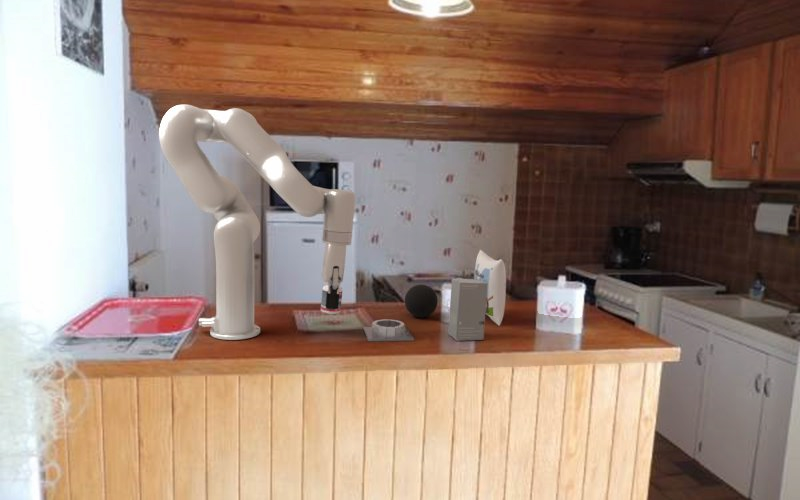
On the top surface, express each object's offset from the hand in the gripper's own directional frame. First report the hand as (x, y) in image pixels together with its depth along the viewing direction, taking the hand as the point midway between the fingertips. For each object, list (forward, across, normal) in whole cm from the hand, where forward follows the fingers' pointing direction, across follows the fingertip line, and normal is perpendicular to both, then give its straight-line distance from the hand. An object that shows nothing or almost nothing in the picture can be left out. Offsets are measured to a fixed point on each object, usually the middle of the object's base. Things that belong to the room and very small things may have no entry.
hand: (331, 304), depth 150 cm
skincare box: (+6, +3, +37) cm, 38 cm away
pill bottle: (+2, 0, 0) cm, 2 cm away
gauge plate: (+7, 0, +16) cm, 18 cm away
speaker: (+7, -18, +29) cm, 35 cm away
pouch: (+6, -16, +50) cm, 53 cm away
